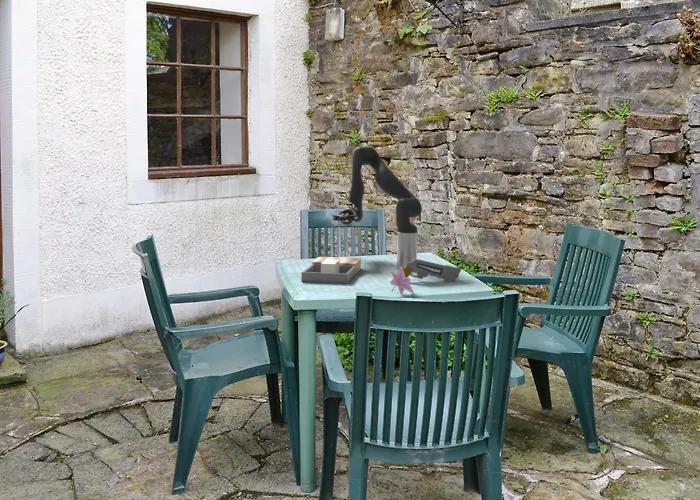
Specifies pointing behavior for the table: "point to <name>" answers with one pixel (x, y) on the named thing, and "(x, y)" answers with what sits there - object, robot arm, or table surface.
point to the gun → (431, 270)
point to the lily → (401, 281)
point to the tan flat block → (341, 261)
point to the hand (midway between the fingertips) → (341, 219)
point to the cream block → (330, 266)
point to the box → (328, 274)
